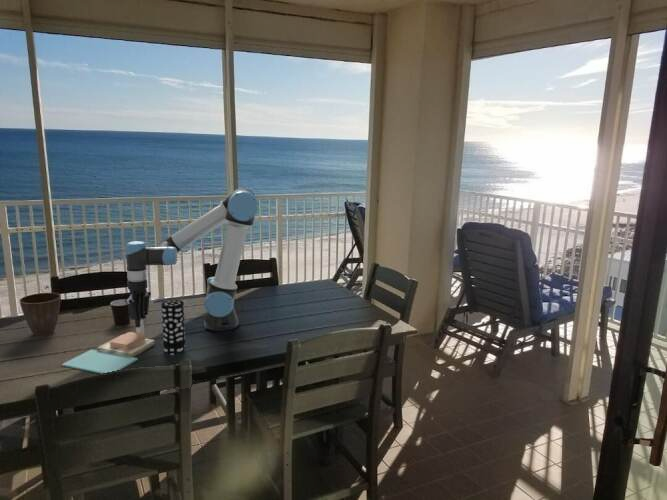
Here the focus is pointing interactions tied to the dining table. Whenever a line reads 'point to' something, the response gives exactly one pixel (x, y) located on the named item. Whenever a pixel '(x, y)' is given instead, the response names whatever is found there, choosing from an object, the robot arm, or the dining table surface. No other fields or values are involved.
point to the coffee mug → (120, 312)
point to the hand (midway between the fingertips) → (140, 333)
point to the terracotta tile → (127, 340)
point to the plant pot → (41, 312)
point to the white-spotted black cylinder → (173, 327)
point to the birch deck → (127, 352)
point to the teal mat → (99, 361)
